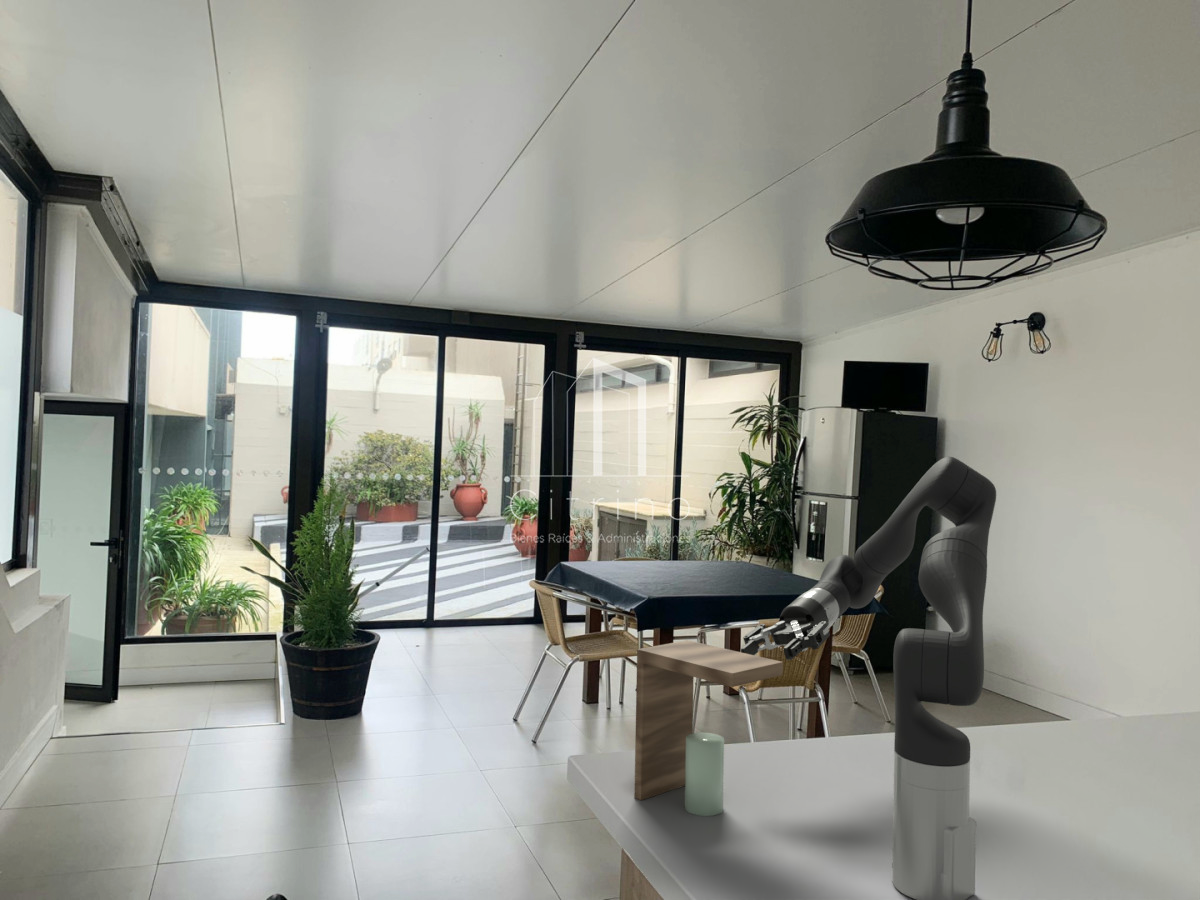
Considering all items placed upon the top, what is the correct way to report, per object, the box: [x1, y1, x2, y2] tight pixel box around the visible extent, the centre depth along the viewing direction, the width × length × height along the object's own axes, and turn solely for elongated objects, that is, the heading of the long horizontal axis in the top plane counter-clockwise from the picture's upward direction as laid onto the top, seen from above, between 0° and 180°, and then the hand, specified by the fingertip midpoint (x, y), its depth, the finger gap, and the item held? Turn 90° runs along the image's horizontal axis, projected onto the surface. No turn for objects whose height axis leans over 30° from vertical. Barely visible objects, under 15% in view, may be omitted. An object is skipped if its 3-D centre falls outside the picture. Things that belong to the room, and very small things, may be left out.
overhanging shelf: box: [633, 639, 784, 801], centre depth 139 cm, size 20×12×24 cm, turn 41°
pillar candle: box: [684, 732, 725, 817], centre depth 138 cm, size 6×6×11 cm
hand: (764, 654), depth 146 cm, fingers open, 8 cm apart
